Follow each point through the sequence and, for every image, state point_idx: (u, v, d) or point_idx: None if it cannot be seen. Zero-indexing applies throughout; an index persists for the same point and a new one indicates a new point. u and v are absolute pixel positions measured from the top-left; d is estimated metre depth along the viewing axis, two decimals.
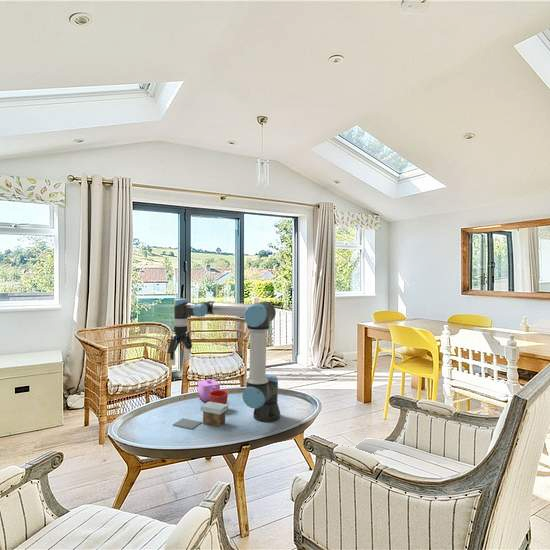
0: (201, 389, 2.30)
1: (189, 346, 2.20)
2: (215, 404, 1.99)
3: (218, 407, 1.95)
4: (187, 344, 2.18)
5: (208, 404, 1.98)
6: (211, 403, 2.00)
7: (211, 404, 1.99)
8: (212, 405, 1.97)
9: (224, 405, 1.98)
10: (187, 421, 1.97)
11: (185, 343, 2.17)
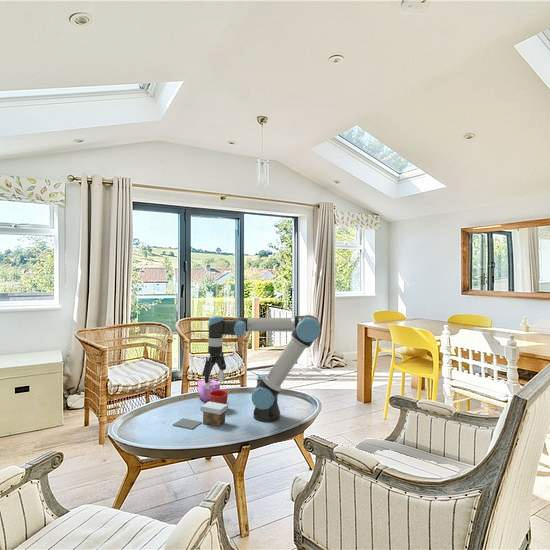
0: (201, 389, 2.30)
1: (223, 367, 2.04)
2: (215, 404, 1.99)
3: (218, 407, 1.95)
4: (221, 365, 2.02)
5: (208, 404, 1.98)
6: (211, 403, 2.00)
7: (211, 404, 1.99)
8: (212, 405, 1.97)
9: (224, 405, 1.98)
10: (187, 421, 1.97)
11: (219, 364, 2.01)
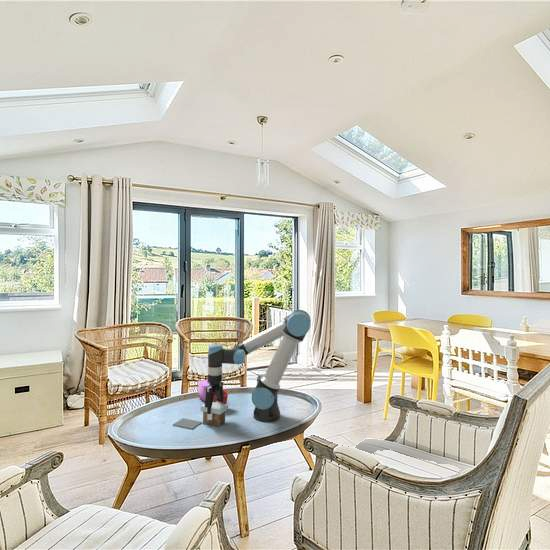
0: (201, 389, 2.30)
1: (221, 398, 2.02)
2: (215, 404, 1.99)
3: (218, 407, 1.95)
4: (219, 395, 2.00)
5: None
6: None
7: None
8: (212, 405, 1.97)
9: (224, 405, 1.98)
10: (187, 421, 1.97)
11: (217, 394, 2.00)
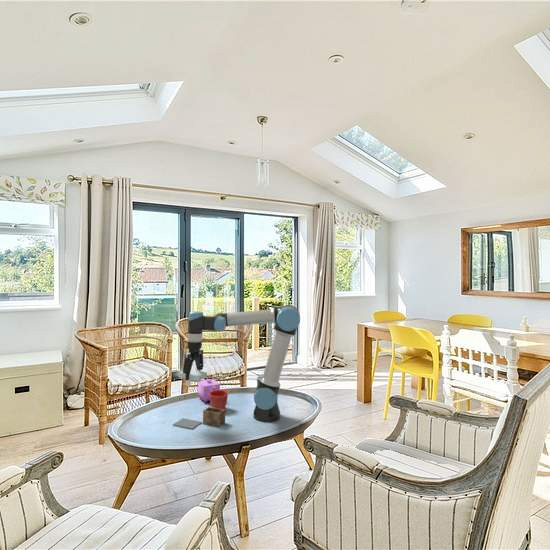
0: (201, 389, 2.30)
1: (200, 366, 2.00)
2: (194, 371, 1.97)
3: (197, 374, 1.93)
4: (199, 363, 1.99)
5: None
6: None
7: None
8: (191, 372, 1.95)
9: (203, 373, 1.96)
10: (187, 421, 1.97)
11: (197, 362, 1.98)
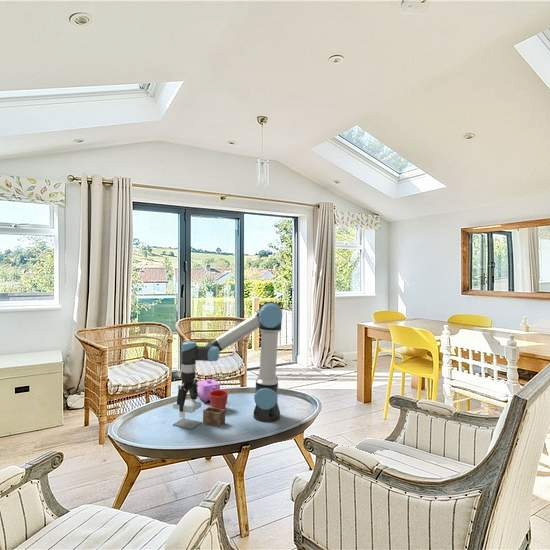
0: (201, 389, 2.30)
1: (194, 396, 2.00)
2: (188, 402, 1.97)
3: (191, 405, 1.93)
4: (193, 393, 1.98)
5: None
6: None
7: None
8: (185, 403, 1.95)
9: (197, 403, 1.96)
10: (187, 421, 1.97)
11: (191, 392, 1.98)
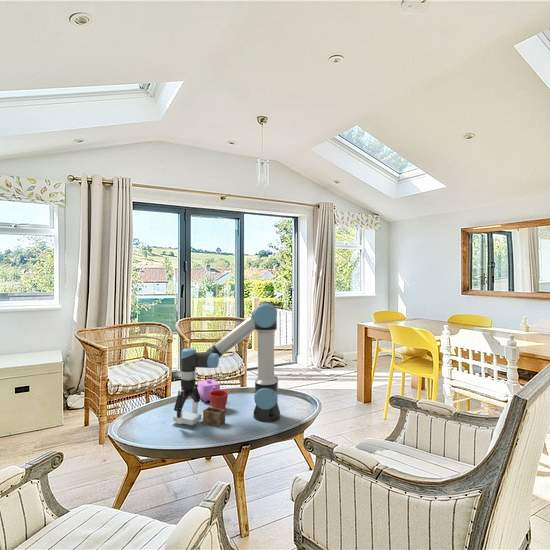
0: (201, 390, 2.30)
1: (197, 399, 2.02)
2: (188, 414, 1.97)
3: (191, 417, 1.93)
4: (195, 397, 2.00)
5: None
6: (184, 413, 1.98)
7: (184, 414, 1.97)
8: (185, 416, 1.95)
9: (197, 415, 1.96)
10: None
11: (193, 396, 1.99)
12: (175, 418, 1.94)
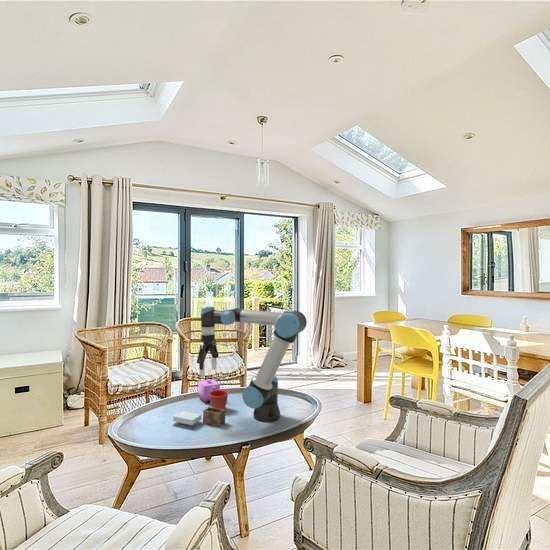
0: (201, 390, 2.30)
1: (216, 355, 2.14)
2: (188, 414, 1.97)
3: (191, 417, 1.93)
4: (214, 353, 2.12)
5: (181, 414, 1.96)
6: (184, 413, 1.98)
7: (184, 414, 1.97)
8: (185, 416, 1.95)
9: (197, 415, 1.96)
10: None
11: (212, 352, 2.11)
12: (175, 418, 1.94)
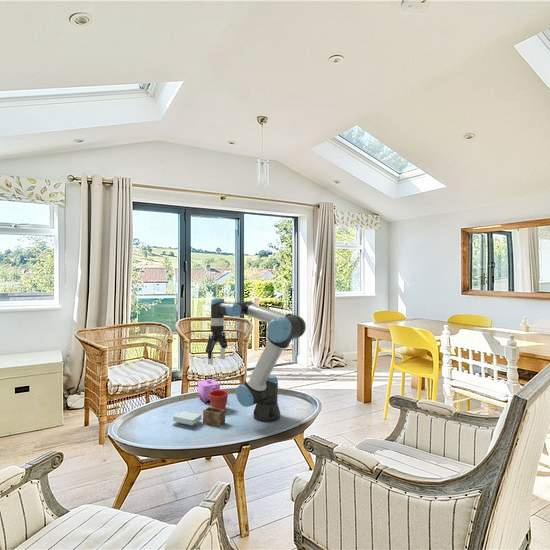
0: (201, 389, 2.30)
1: (224, 345, 2.20)
2: (188, 414, 1.97)
3: (191, 417, 1.93)
4: (223, 343, 2.18)
5: (181, 414, 1.96)
6: (184, 413, 1.98)
7: (184, 414, 1.97)
8: (185, 416, 1.95)
9: (197, 415, 1.96)
10: None
11: (221, 342, 2.18)
12: (175, 418, 1.94)
